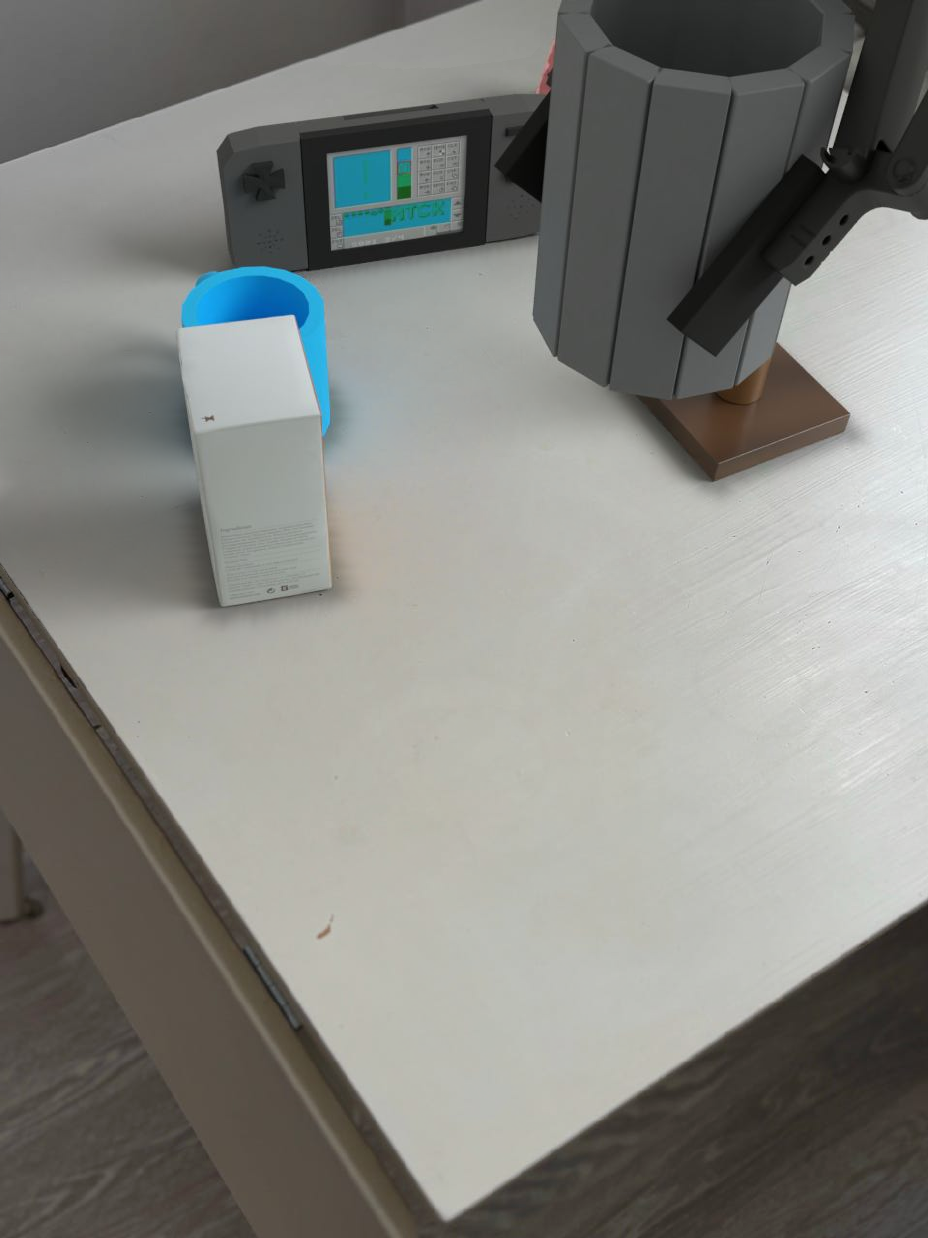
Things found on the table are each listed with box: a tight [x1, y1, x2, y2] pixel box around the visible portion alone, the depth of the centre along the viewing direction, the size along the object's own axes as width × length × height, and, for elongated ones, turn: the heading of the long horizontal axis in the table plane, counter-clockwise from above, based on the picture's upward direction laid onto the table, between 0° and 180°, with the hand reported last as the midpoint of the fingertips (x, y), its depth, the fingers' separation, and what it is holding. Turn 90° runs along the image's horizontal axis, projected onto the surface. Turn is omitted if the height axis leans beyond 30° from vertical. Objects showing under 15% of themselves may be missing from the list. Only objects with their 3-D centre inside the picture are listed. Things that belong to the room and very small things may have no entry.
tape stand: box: [636, 341, 851, 482], centre depth 81 cm, size 10×10×14 cm
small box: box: [175, 315, 333, 607], centre depth 72 cm, size 8×6×13 cm
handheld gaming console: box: [216, 93, 546, 272], centre depth 91 cm, size 23×3×10 cm, turn 107°
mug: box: [180, 267, 331, 437], centre depth 82 cm, size 12×8×8 cm
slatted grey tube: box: [532, 0, 856, 400], centre depth 47 cm, size 9×9×12 cm
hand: (600, 258), depth 48 cm, fingers closed on slatted grey tube, 9 cm apart
